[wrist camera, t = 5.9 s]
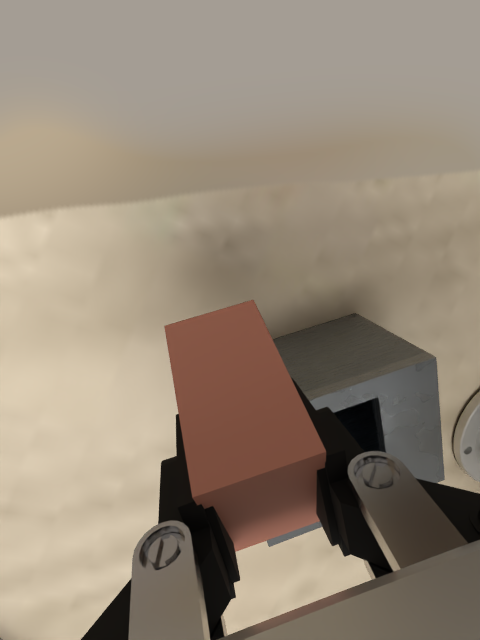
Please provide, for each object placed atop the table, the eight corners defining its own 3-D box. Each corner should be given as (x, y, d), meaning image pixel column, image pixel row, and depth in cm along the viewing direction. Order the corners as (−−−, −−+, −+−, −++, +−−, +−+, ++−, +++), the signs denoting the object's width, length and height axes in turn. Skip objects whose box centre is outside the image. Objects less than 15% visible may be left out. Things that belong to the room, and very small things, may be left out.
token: (253, 299, 12) (326, 451, 8) (266, 381, 15) (323, 519, 11) (164, 325, 11) (192, 497, 7) (196, 403, 14) (229, 553, 10)
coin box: (355, 313, 28) (436, 357, 20) (369, 406, 31) (444, 479, 23) (211, 359, 27) (231, 427, 19) (240, 452, 30) (268, 546, 22)
